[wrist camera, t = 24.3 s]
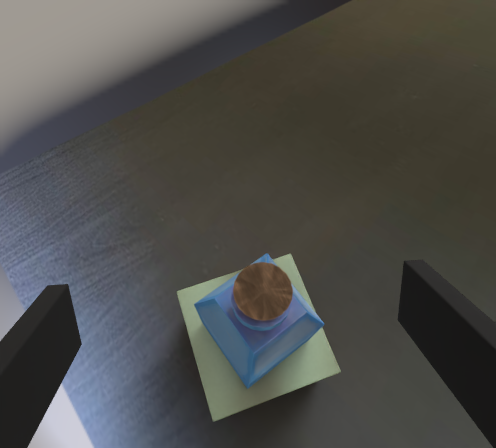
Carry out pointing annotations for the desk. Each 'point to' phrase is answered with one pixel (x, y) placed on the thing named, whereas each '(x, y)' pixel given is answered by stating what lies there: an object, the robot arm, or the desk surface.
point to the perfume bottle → (258, 319)
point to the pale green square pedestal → (223, 374)
